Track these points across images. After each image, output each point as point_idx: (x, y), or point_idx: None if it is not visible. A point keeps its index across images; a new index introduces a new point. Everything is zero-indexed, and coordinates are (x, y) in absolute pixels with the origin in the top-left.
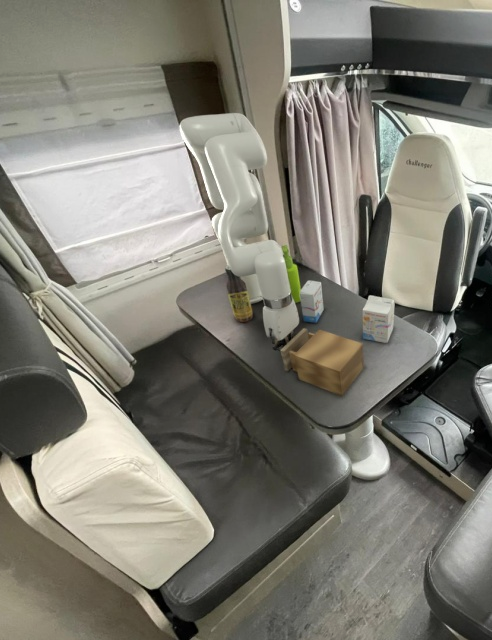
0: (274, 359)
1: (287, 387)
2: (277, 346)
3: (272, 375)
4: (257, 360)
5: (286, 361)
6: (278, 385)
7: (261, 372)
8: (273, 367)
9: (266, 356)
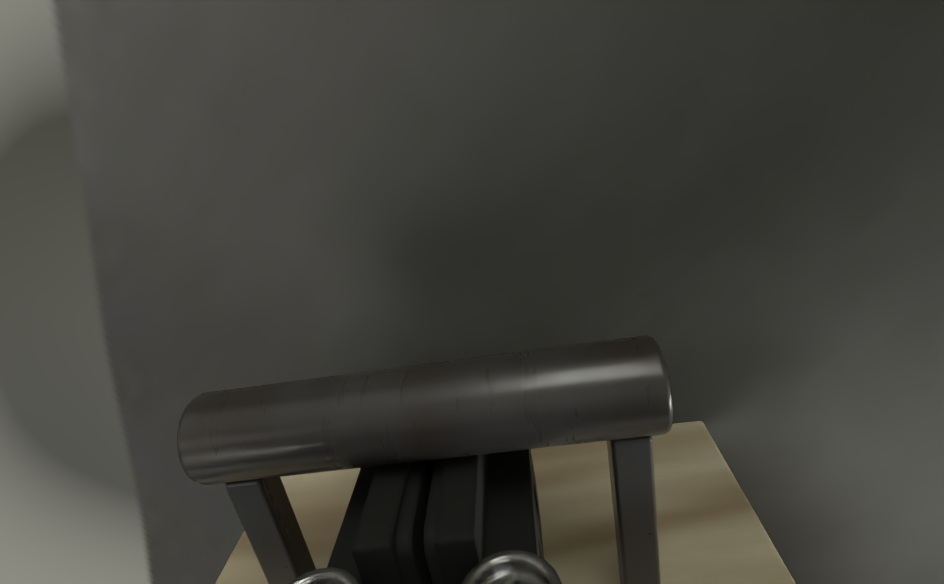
0: (330, 212)
1: (194, 562)
2: (262, 476)
3: (169, 379)
4: (155, 35)
5: None
6: (147, 500)
7: (96, 256)
8: (241, 303)
9: (291, 75)
